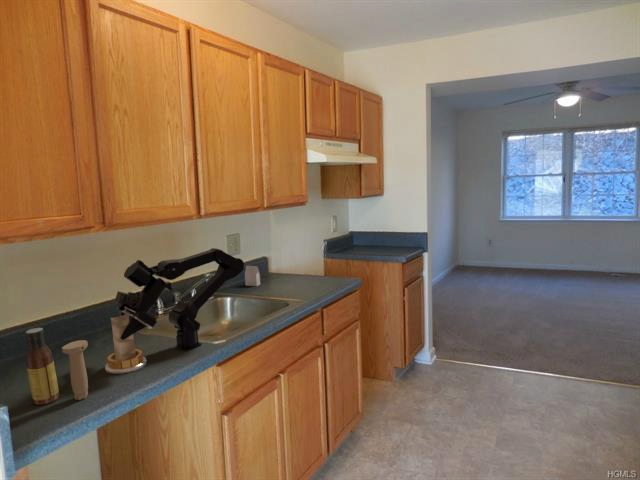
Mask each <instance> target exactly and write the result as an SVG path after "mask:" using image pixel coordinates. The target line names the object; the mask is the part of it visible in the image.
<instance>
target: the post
mask: <svg viewBox="0 0 640 480" xmlns="http://www.w3.org/2000/svg"><path fill="white" fill-rule="evenodd" d="M110 321H111V328H112V329H111V331H112V338H113V339H112V340H113V346H114V353H115V356H116V359H117V360H126V359H130V358H133V357H136V355H135V349H136V347H135V340H134V334H132V335H131V336H129V337H128V338H126V339H124V340H122V339H121V336H122V334H123V332H124V330H125V329H126V327H127V325H128V323H129V316H127V315H122V316H120V315H119V316H115V317H110Z"/></svg>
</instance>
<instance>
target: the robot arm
mask: <svg viewBox="0 0 640 480" xmlns="http://www.w3.org/2000/svg"><path fill="white" fill-rule="evenodd" d="M214 262H215V263H216V264H217V265H218V266H217V270H216V272H215V273H214V274H213V275H211V277H210V278H209V279H208V280H207V281H206V282H205V283H204V284H203V286H201V287H200V288H199V289H198V290H197V291H196V292H195V293H194V294H193V295H192V296H191V297H190V298H189V299H188V300H187V301H182V300H179V301H178V302H176V304H175V305H174V306H173V307H171V308H170V312H168V321H169V323H170V324H171V325H173V326H174V329H177V330H176V336H175V338H176V345H175V346H174V347H175V348H176V349H180V350H184V351H190V350H192V349H194V348H197V347H200V346H201V345H202V342H200V341H199V336H198V335H199V334H198V331H199V330H200V327H201V323H200V322H199V321H197V320H196V319H197V316H198V313H199V311H200V309H201V308H202V307H203V306H204V305H205V304H206V303H207V302H208V301H209V300H210V299H211V298H212V297H213V296H214V295H215V294H216V293H217V292H218V291H219V289H221V287H222V286H223V285H225V283H226V282H228V281H231V280H232V279H234V278H236V277H238V276H239V275H240V274H241V273H242V272H244V271H245V264H244V261H243V260H242V258H238V257H234V256H232V255H231V254H228V253H226V252H225V251H223V250H222V249H220V248H215V247H212V248H210V249H208V250H205V251H202V252H199V253H195V254H192V255H189V256H185V257H184V258H179V259H165V260H161V261H159V262H157V264H156V265H154V266H151V267H149V266H148V265H146V264H145V263H144V262H143V261H142V260H140V259H136V262H133V263H132V264H131V265H129V266H128V267H127V268H126V269H125V271H124V273H123V277H124V278H125V279H126V280H128V281H129V282H131V283H132V284H133V285H135V286H136V287H138V288H141V287H143V288H142V289H141V290H140V291H136V292H132V291H128V292H123V291H119V290H118V291H117V293H116V296H115V298H114V302H117V304H116V306H115V308H116V309H118V313H119V316H122V315H127V316H129V323H128V325H127V327H126V329H125V330H124V332H123V334H122V336H121V339H122V340H124V339H126V338H128V337H129V336H131V335H132V334H133V335H135V334H136V333H138V332H139V331H141V330H142V329H145V328H147V327H148V326H149V327H151V328H154V327H156V325H157V323H158V321H157V317H154V316H153V315H152V314H150V311H151V309H152V308H153V306H155V307H157V306H158V302H157V301H158V299H160V296H161V295H162V294H163V293H164V291H165V290H166V291H169V292H172V291H173V287H172V282H171V281H172V280H173V281H174V280H176V279H178V278H180V277H181V276H183V275H184V274H185V273H186V272H188V271H189V270H192V269H193V270H194V269H196V268H199V267H201V266H204V265H207V264H210V263H214ZM157 277H158V278H157ZM163 279H165V280H169V281H170V282H169V281H165V280H163ZM147 325H148V326H147Z"/></svg>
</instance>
